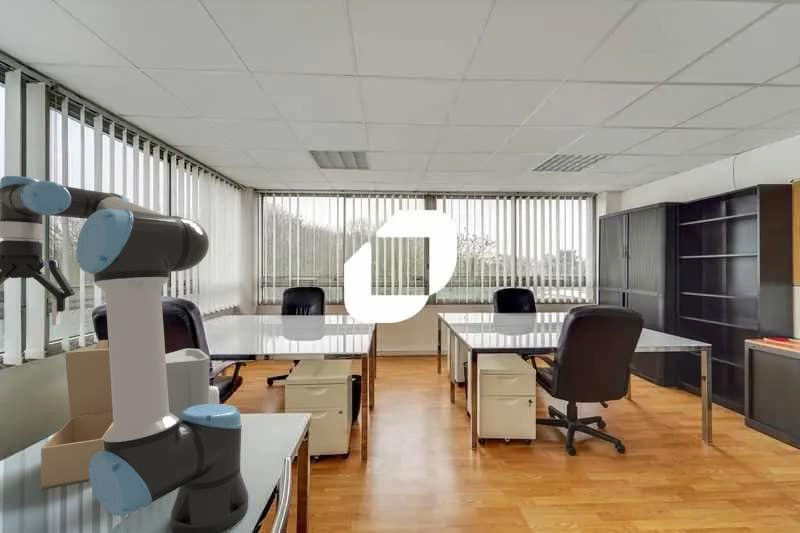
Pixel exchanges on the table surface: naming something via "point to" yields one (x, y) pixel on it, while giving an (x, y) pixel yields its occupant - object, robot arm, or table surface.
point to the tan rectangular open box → (73, 450)
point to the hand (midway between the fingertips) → (20, 326)
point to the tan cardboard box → (89, 380)
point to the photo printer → (213, 395)
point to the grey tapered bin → (187, 379)
